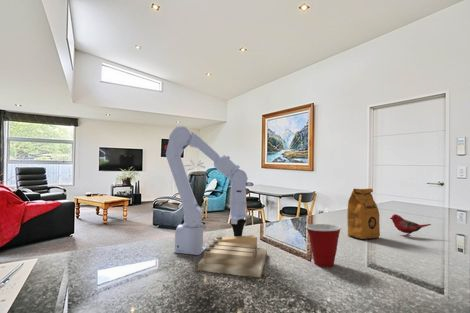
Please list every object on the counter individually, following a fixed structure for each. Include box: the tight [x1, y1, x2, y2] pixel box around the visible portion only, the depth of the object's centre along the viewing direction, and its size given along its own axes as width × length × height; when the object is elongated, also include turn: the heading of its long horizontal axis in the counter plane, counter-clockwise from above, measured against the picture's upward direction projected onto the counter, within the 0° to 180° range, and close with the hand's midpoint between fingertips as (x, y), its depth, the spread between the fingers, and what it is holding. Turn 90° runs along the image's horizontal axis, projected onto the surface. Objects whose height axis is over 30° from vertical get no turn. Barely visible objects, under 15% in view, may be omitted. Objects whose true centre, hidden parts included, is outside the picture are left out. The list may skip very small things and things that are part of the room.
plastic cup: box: [305, 223, 342, 268], centre depth 78 cm, size 11×11×12 cm
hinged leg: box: [213, 234, 258, 246], centre depth 87 cm, size 15×3×3 cm, turn 108°
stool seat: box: [197, 240, 268, 278], centre depth 78 cm, size 18×19×5 cm
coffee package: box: [346, 188, 381, 240], centre depth 112 cm, size 10×12×22 cm
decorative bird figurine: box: [389, 213, 432, 237], centre depth 114 cm, size 3×18×10 cm, turn 82°
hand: (237, 240), depth 90 cm, fingers closed, pressing on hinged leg
